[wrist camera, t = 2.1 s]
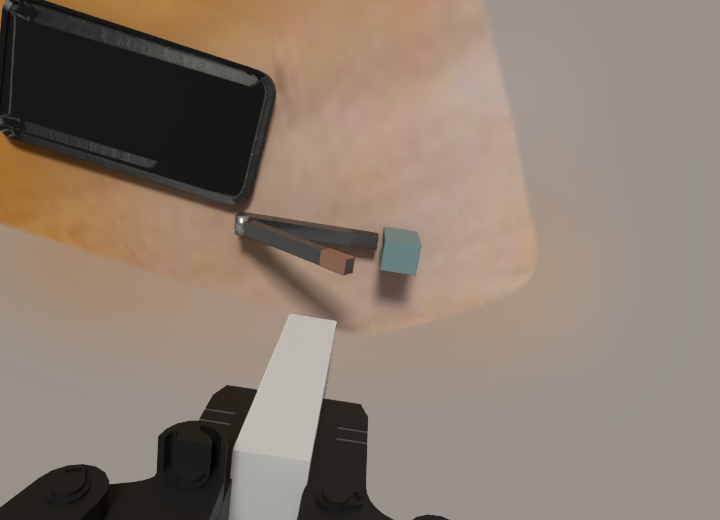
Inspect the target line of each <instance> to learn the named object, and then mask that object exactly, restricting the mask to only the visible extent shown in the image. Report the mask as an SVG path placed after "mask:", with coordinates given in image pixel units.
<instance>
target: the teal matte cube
mask: <svg viewBox="0 0 720 520" xmlns="http://www.w3.org/2000/svg"><path fill="white" fill-rule="evenodd" d="M420 251H421V243H420V240H419V237H418V234H417V232H414V231H407V230H401V229H395V228H388V227H384V243H383V249H382V250H381V249H380V270H384V271H390V272H397V273H403V274H410V275H416V271H417V266H418V261H419V256H420Z"/></svg>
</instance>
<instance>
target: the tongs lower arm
mask: <svg viewBox="0 0 720 520" xmlns="http://www.w3.org/2000/svg"><path fill="white" fill-rule="evenodd" d="M238 214H245V215H248V216H249V218H248V221H251V220H255V221H257V222H260V223H263V224H266V225H268V226H271V227H274V228H276V229H279V230H282V231H284V232H287V233H290V234H292V235H295V236H298V237H300V238H303V239H308V240H314V241H321V242H327V243H333V244H340V245H346V246H353V247H359V248H366V249H372V250H376V248H377V242H378V233H374V232H368V231H361V230H355V229H348V228H342V227H336V226H329V225H323V224H316V223H310V222H304V221H297V220H291V219H284V218H278V217H272V216H265V215H259V214H252V213H246V212H239V213H238ZM236 215H237V214H236ZM235 225H236V217H235Z"/></svg>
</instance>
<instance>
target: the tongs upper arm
mask: <svg viewBox="0 0 720 520" xmlns="http://www.w3.org/2000/svg"><path fill="white" fill-rule="evenodd" d="M248 218H249V216H248V215H245V214H237V215H236V225H235V234H236V235H241V236H244V235H245V236H248V237H250V238H253V239H255V240H258V241H260V242H263V243H265V244H268V245H270V246H273V247H275V248H278V249H280V250H283V251H285V252H288V253H290V254H293V255H295V256H297V257H300V258H302V259H305V260H307V261H310V262H312V263H315V264H317V265H319V266H321V267H323V268H326V269H328V270H331V271H333V272H336V273H338V274H341V275H343V276H344V275H347V274H350V273H353V267H354V261H355V257H353V256H350V255H348V254H345V253H342V252H340V251H337V250H334V249H332V248H327V247H325V246H322V245H319V244H317V243H314V242H311V241H309V240H306V239H303V238H300V237H298V236H295V235H292V234H290V233H287V232H284V231H282V230H279V229H276V228H274V227H271V226H268V225H266V224H263V223H260V222H257V221H255V220H251V221H248Z"/></svg>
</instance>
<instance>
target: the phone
mask: <svg viewBox="0 0 720 520" xmlns="http://www.w3.org/2000/svg"><path fill="white" fill-rule="evenodd" d="M275 97H276V89H275V84H274V83H273V81H272V79H271V78H270V77H269V76H268V75H267V74H266V73H264V72H262V71H260V70H257V69H254V68H251V67H248V66H245V65H242V64H239V63H235V62H232V61H229V60H226V59H223V58H220V57H217V56H214V55H211V54H208V53H205V52H202V51H199V50H195V49H192V48H189V47H186V46H183V45H180V44H177V43H174V42H171V41H168V40H165V39H162V38H159V37H155V36H152V35H149V34H146V33H143V32H140V31H137V30H134V29H131V28H128V27H125V26H122V25H119V24H115V23H112V22H109V21H106V20H103V19H100V18H97V17H94V16H91V15H88V14H85V13H82V12H79V11H75V10H72V9H69V8H66V7H63V6H60V5H57V4H54V3H51V2H48V1H45V0H6V1H5V3H4V5H3V9H2V18H1V30H0V131H1V132H2V133H4V134H5V135H6V136H8V137H10V138H13V139H16V140H19V141H22V142H26V143H29V144H32V145H36V146H39V147H42V148H45V149H49V150H52V151H55V152H58V153H62V154H65V155H68V156H71V157H74V158H78V159H81V160H84V161H88V162H91V163H94V164H98V165H101V166H104V167H107V168H111V169H114V170H117V171H121V172H124V173H127V174H130V175H134V176H137V177H140V178H143V179H147V180H150V181H153V182H157V183H160V184H163V185H166V186H170V187H173V188H176V189H179V190H183V191H186V192H189V193H192V194H196V195H199V196H202V197H206V198H209V199H212V200H215V201H219V202H222V203H225V204H231V205H234V204H239V203H241V202H243V201H244V200H246V199H247V198H248V197H249V196H250V195H251V192H252V190H253V187H254V183H255V180H254V179H256V175H257V171H258V167H259V163H260V158H261V154H262V150H263V146H264V142H265V138H266V134H267V130H268V126H269V122H270V118H271V114H272V110H273V106H274V102H275Z"/></svg>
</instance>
